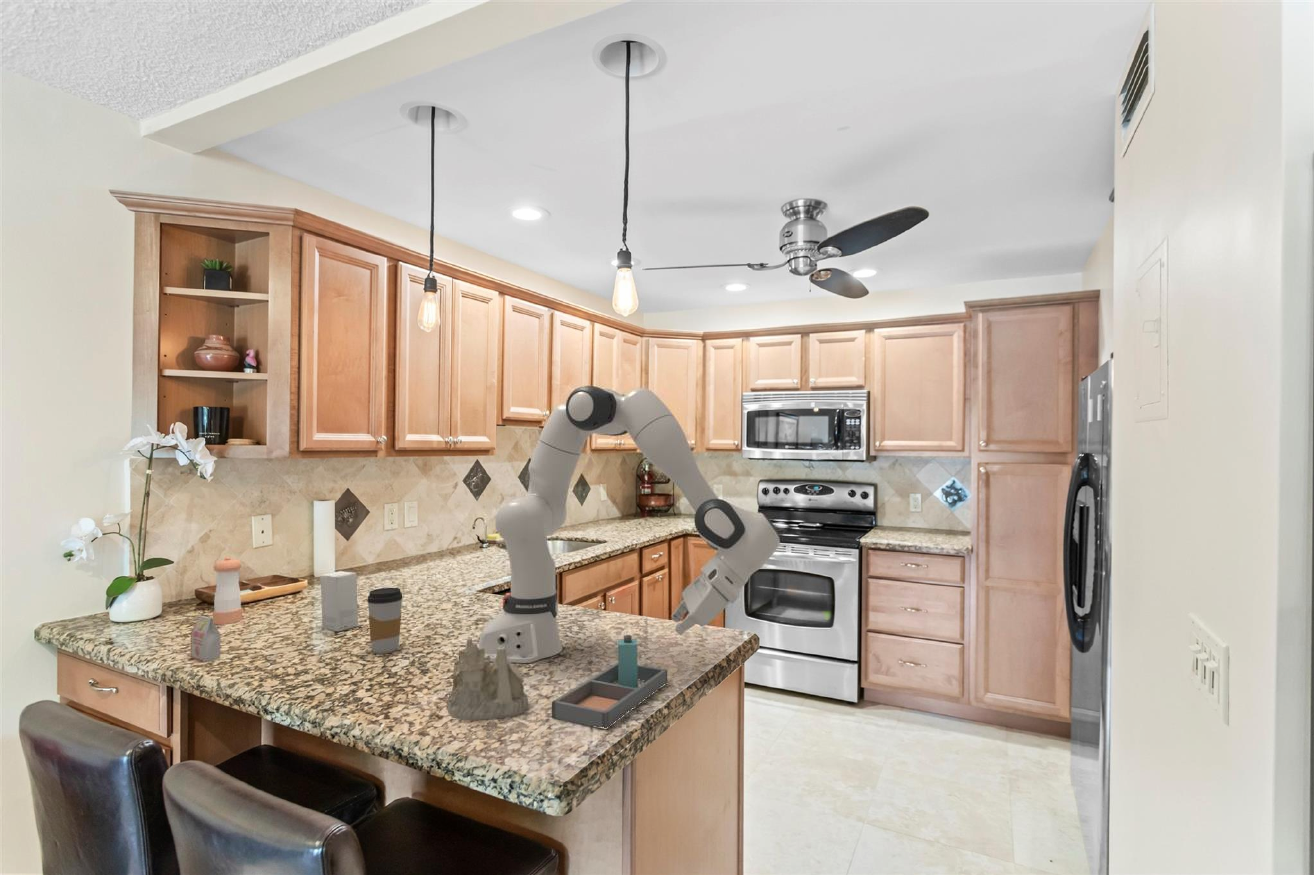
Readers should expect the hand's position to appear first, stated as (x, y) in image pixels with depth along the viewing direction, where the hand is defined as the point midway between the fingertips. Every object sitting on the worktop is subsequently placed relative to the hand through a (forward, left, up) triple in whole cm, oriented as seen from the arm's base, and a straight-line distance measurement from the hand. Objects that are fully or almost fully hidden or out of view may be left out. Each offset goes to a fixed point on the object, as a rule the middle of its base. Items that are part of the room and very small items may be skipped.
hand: (675, 625), depth 135 cm
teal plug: (-10, 0, -13) cm, 17 cm away
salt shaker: (-130, +63, -13) cm, 145 cm away
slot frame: (-13, -5, -13) cm, 19 cm away
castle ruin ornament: (-38, -5, -13) cm, 41 cm away
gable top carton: (-114, +29, -13) cm, 119 cm away
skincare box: (-93, +53, -13) cm, 108 cm away
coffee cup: (-72, +31, -13) cm, 79 cm away
